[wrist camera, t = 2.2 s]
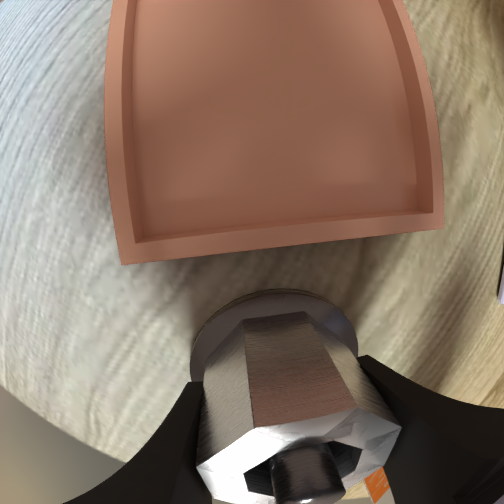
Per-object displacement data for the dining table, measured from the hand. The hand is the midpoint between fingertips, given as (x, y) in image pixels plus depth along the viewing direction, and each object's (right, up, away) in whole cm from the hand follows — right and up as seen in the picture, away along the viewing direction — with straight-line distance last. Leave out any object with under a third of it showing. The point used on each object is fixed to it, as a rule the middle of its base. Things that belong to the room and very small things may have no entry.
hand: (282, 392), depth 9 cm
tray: (0, +11, -1) cm, 11 cm away
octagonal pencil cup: (0, 0, +1) cm, 1 cm away
